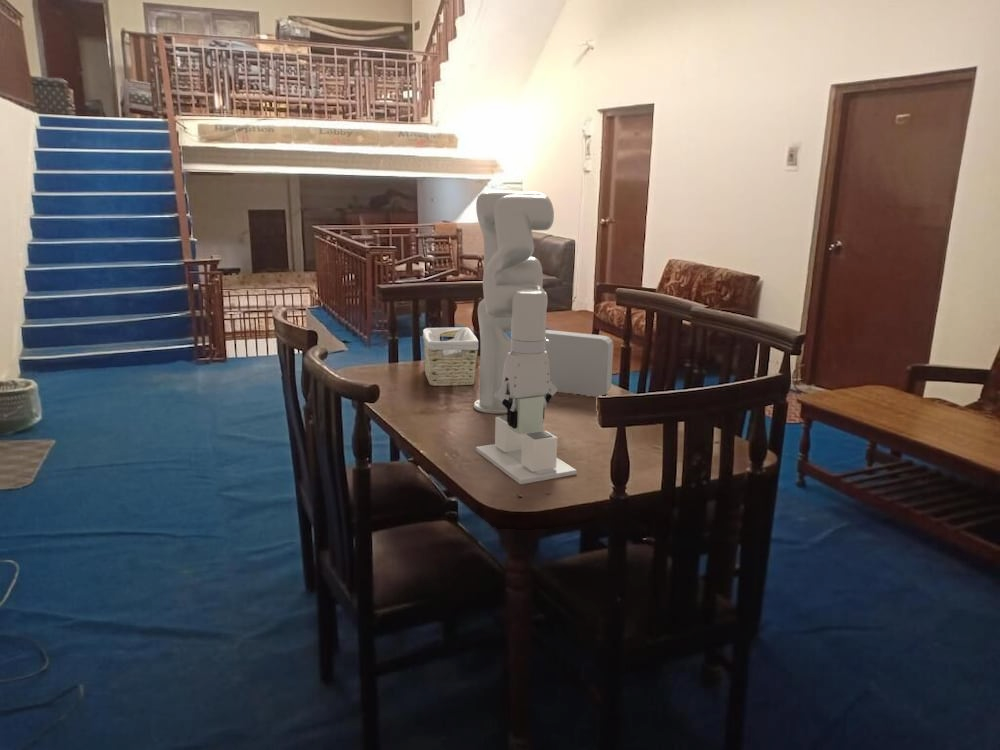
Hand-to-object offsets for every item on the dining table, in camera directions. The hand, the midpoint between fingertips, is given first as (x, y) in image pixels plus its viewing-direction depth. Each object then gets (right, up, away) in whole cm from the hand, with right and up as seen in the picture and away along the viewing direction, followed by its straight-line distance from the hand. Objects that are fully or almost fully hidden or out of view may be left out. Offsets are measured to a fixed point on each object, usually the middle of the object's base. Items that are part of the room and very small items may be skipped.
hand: (525, 424), depth 165 cm
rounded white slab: (+14, +6, +62) cm, 64 cm away
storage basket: (-22, +10, +74) cm, 78 cm away
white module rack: (0, -9, +3) cm, 9 cm away
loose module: (0, -1, 0) cm, 1 cm away
